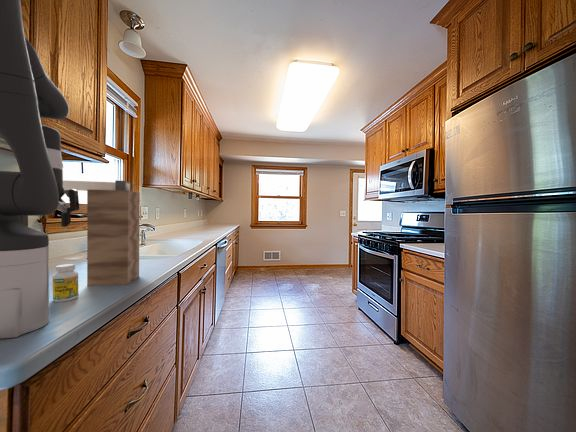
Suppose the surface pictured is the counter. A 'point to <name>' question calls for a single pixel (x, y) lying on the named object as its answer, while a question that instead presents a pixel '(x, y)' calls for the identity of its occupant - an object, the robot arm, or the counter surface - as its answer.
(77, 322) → the counter surface
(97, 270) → the walnut stand
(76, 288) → the supplement bottle
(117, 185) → the white bar
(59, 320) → the counter surface
